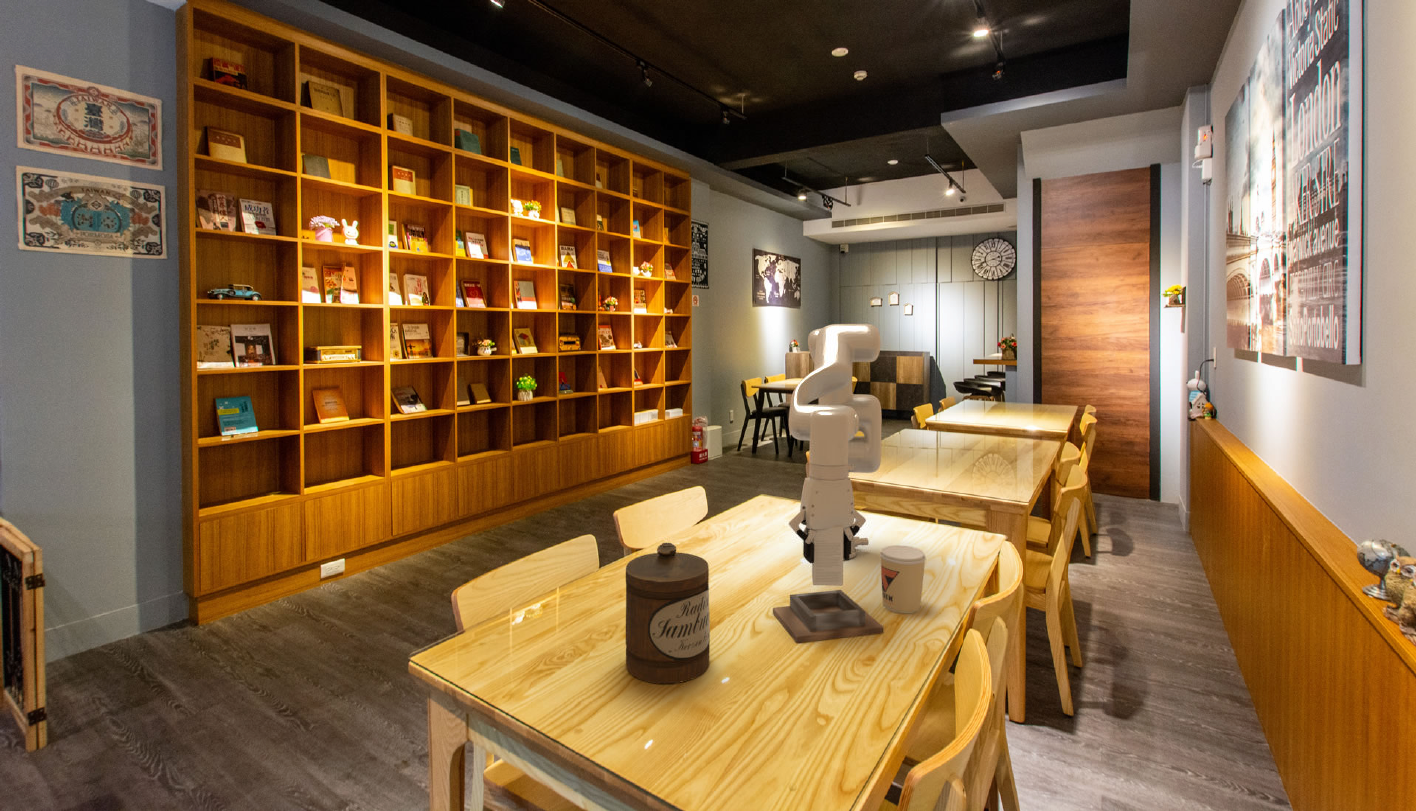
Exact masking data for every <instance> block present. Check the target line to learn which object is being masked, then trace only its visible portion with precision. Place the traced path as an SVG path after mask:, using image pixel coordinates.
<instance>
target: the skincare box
mask: <svg viewBox="0 0 1416 811" xmlns="http://www.w3.org/2000/svg"><path fill="white" fill-rule="evenodd" d="M843 531H844V528H843V526H837V527H830V529H826V530H817V531H816V534H815V536H814V538H813V540H812V543H813V544H814V562H813V563H811V578H812V585H813V586H829V587H830V586H837V587H840V586H841V587H843V585H844V560H843Z"/></svg>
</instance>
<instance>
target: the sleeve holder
mask: <svg viewBox="0 0 1416 811" xmlns="http://www.w3.org/2000/svg"><path fill="white" fill-rule="evenodd" d="M772 614H773V616H774V617H775V618H776V619H777V621H778V622H779V623H780V624H781V626H783V628H784V629H785V630H786V632H787V633H788V634H789V635H790V637H791V638H792V639H793V641H794V642H795V643H796V644H798V643H806V642H807V643H808V642H816V641H824V640H825V641H826V640H831V639H832V640H833V639H840V638H842V639H843V638H849V637H850V638H851V637H860V636H859V635H861V636H867V635H869V636H870V635H876V633H878V634H884V630H885V629H884V628H885V627H884V626H883V625H882V624H881V623H880V622H879V621H877V620H876V618H874V617H873V616H872V615H871V614H870V613H868V612H867V611H866V610H865V609H863V608H862V607H861V605H859V604H858V603H857V602H855V601H854V600H853V599H852V598H851V597H850V596H849V595H847V594H846V593H845V592H844V591H843V590H842V589H837V590H835V589H834V590H828V591H816V592H815V591H814V592H806V593H805V592H804V593H795V594H789V605H787V606H778V607H773V608H772Z"/></svg>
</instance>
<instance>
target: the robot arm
mask: <svg viewBox="0 0 1416 811" xmlns="http://www.w3.org/2000/svg"><path fill="white" fill-rule="evenodd" d="M807 345H808V346H807V347H808V350H809V354H810V357H811V359H812V363H813V370H812V371H811V372H810V373H808V374H807V375H806V376H805V377H803V378H802V380H801V381H799V382H798V384H797V385H796V386H795V388H794V389H793V392H792V395H791V398H790V405H789V412H788V429H789V432H790V435H791V436H792V437H793V438H794V439H796V440H799V441H809V462H808V463H809V464H808V465H809V466H808V468H809V471H808V473H809V474H808V475H809V476H808V477H805V478H804V482H803V486H802V493H801V500H800V510H799V512H798V513H797V514H796V515H795V516H793V518H792V519H791V520H790V521H788V526H789V527H790V528H791V529H792V531H794V533H795V534H796V535H797V536H798V537H799V538H800V539H801V540H802V542H803V546H802V548H803V549H802V552H803V554H802V555H803V558H804V560H806V561H807V562H808V563H809V564H812V563H813V562H814V544H813V543H812V540H813V538H814V536H815V534H816V531H817V530H826V529H830V527H837V526H843V528H844V531H843V561H850V560H852V559H853V558H855V557H856V556H857V555H858V549H857V547H858V546H868V545H869V542H870V541H869V539H868V538H867V537H861V538H860V536H856V535H857V534H858V533H859V532H860V530H861V529H860V528H862V527H863V526H864V524H865V523H866V520H867V519H866V518H865V516H863V515H862V514H861V513H860V512H858V510H856V509H855V498H854V493H853V492H854V491H853V486H852V480H851V478H850V477H849V475H850V474H849V473H859V474H871V473H873V474H874V473H875V472H877V471H878V470H879V469H880V467H881V462H882V422H883V421H882V420H883V419H882V407H881V403H880V400H879V398H877V397H876V396H874V395H873V394H858V393H857V394H854V393H853V363H859V362H860V363H873V362H875V361H876V360H877V359H878V357H879V355H880V351H881V347H882V346H881V335H880V331H879V329H878V328H877V327H876V326H875V325H873V324H870V323H834V324H828V325H826V326H824V327H822V328H817V329H814V330H812V331H810V333H809V334H808V337H807ZM817 399H818V404H810V403H811V402H812V401H815V400H817ZM858 432H860V433H862V434H863V435H857V433H858ZM800 524H801V525H803V526H805V527H804V530H803V529H802V528H801V527H800Z"/></svg>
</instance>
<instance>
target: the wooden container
mask: <svg viewBox="0 0 1416 811" xmlns="http://www.w3.org/2000/svg"><path fill="white" fill-rule="evenodd" d="M709 567H710V566H709V562H708V561H707V560H706V559H704V558H703V557H700V556H698V555H695V554H691V553H686V552H678V551H677V547H676V545H675V544H673V543H671V542H662V543H661V544H660V545H658V547H657V548H656V552H653V553H647V554H643V555H640V556H637V557H635V558H633V559H631V560H630V561H628V563H627V564H626V566H625V664H626V665H625V666H626V669H627V671H628V672H629V674H631V675H632V676H633V677H635V678H636V679H638V680H641V681H643V682H646V681H647V682H648V683H652V684H658V683H673V684H678V683H677V682H680V683H682V682H681V681H685V682H687V681H686V680H688V681H690V679H691V680H693V679H692V678H694V679H696V678H697V676H698V677H699V676H701V675H702V674H704V673H705V671H706V670H707V669H708V668H709V665H710V652H711V651H710V650H711V649H710V641H711V640H710V639H711V638H710V634H711V630H710V629H711V624H710V623H711V621H710V615H711V614H710V586H709V579H710V570H709V569H710V568H709ZM703 672H704V673H703ZM695 677H696V678H695ZM647 682H646V683H647Z"/></svg>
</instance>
